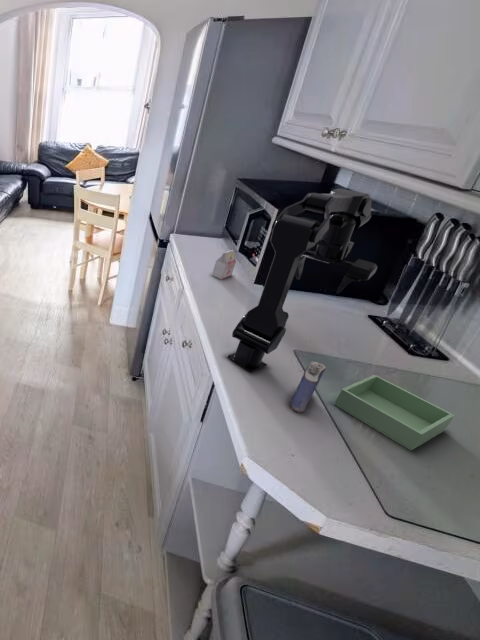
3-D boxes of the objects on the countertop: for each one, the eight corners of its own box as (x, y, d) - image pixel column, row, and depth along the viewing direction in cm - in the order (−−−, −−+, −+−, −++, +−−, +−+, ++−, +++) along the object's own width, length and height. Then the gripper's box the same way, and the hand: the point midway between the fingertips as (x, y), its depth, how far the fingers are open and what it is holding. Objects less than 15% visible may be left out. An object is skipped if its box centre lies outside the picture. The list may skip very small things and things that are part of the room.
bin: (410, 450, 78) (421, 434, 76) (333, 404, 89) (341, 389, 87) (443, 431, 83) (455, 415, 81) (366, 389, 94) (375, 374, 92)
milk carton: (211, 275, 149) (218, 251, 144) (221, 271, 152) (229, 247, 148) (221, 279, 146) (229, 254, 142) (231, 275, 149) (239, 251, 145)
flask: (301, 415, 86) (320, 376, 82) (285, 407, 88) (303, 369, 84) (312, 396, 91) (330, 359, 87) (297, 389, 94) (314, 352, 89)
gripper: (395, 236, 99) (373, 287, 106) (306, 216, 113) (292, 262, 121) (378, 253, 94) (356, 305, 102) (287, 230, 108) (274, 277, 116)
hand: (317, 285), depth 110 cm, fingers open, 9 cm apart
